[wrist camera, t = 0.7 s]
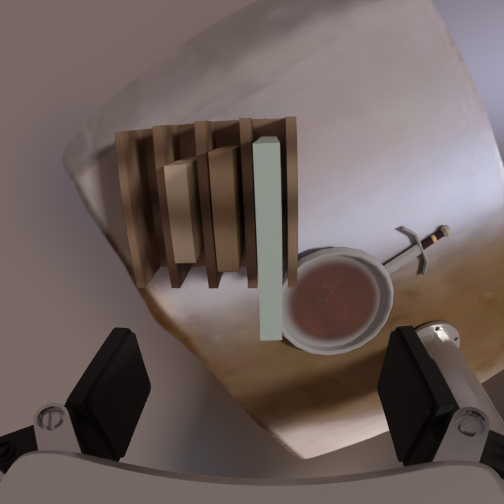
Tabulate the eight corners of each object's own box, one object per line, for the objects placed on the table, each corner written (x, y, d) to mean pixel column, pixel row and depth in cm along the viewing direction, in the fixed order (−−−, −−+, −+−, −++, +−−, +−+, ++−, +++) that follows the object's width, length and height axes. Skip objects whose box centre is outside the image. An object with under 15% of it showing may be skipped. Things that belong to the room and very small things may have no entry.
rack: (293, 261, 42) (297, 287, 35) (156, 263, 43) (137, 287, 36) (291, 118, 35) (296, 116, 28) (139, 130, 36) (114, 132, 30)
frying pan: (470, 277, 39) (312, 374, 46) (461, 269, 41) (310, 362, 48) (431, 176, 34) (246, 295, 41) (421, 172, 37) (247, 285, 44)
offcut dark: (245, 243, 40) (239, 271, 33) (227, 243, 40) (217, 271, 33) (240, 145, 35) (232, 150, 28) (221, 146, 36) (208, 151, 28)
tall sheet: (278, 250, 40) (282, 340, 23) (266, 250, 40) (260, 340, 24) (276, 135, 35) (279, 143, 18) (262, 136, 35) (252, 143, 18)
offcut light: (209, 236, 40) (195, 262, 33) (192, 237, 40) (175, 263, 33) (203, 156, 36) (185, 164, 29) (185, 157, 36) (163, 166, 29)
